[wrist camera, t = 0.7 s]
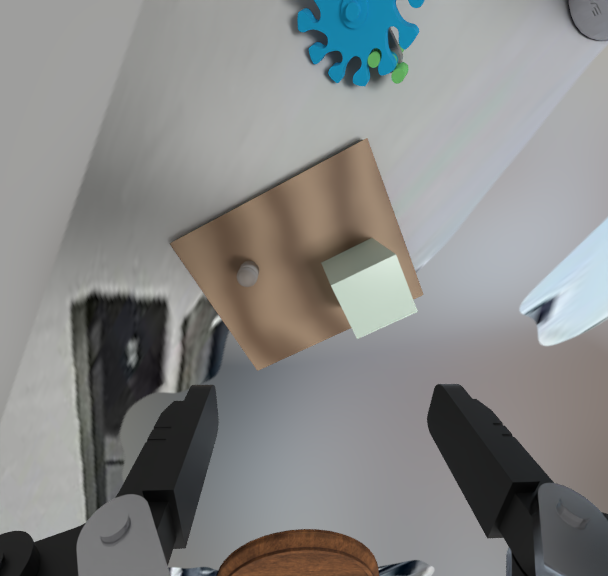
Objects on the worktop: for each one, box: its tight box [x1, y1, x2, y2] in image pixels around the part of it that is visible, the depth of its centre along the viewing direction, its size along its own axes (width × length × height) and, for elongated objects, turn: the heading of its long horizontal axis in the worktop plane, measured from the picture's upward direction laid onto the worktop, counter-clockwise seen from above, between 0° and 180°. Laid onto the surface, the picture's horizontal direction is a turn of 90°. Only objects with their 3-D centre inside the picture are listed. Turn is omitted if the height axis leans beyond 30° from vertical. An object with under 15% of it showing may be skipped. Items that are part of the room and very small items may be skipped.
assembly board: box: [170, 138, 423, 370], centre depth 30 cm, size 22×18×6 cm
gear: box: [297, 0, 424, 86], centre depth 22 cm, size 11×6×10 cm
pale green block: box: [321, 238, 418, 339], centre depth 28 cm, size 6×6×7 cm
